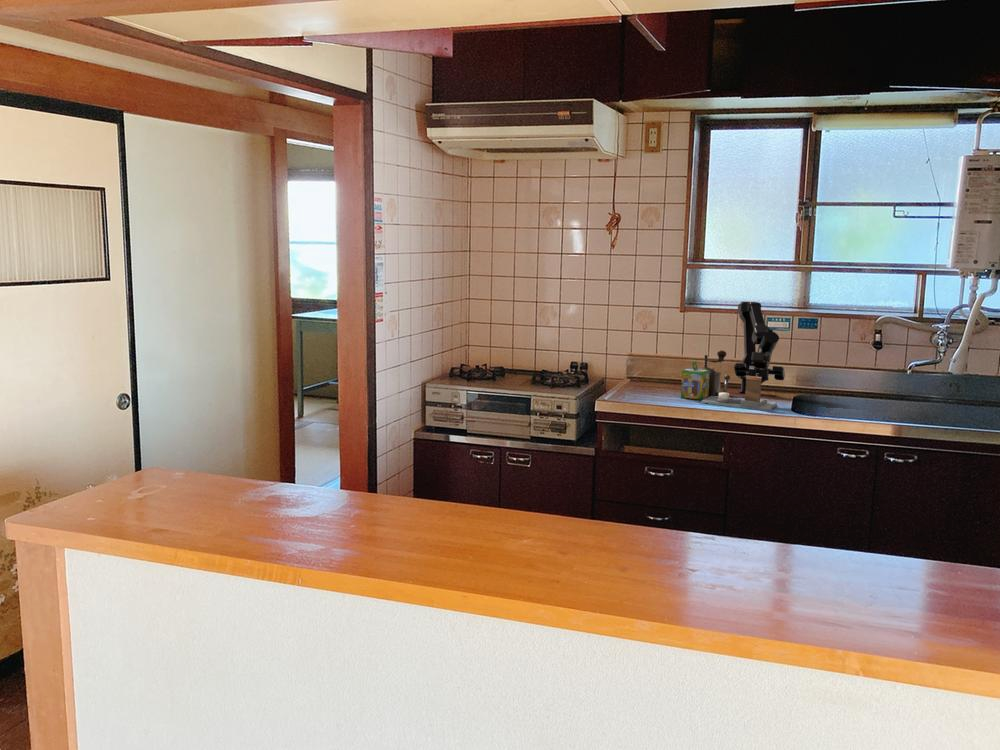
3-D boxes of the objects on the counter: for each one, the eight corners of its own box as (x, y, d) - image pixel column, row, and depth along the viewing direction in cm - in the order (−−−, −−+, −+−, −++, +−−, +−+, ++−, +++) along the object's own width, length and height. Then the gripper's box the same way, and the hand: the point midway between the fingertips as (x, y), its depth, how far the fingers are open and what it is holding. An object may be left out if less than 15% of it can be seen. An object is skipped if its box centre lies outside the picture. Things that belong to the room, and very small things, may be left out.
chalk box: (702, 400, 341) (704, 364, 339) (680, 398, 346) (681, 362, 344) (709, 397, 349) (711, 361, 347) (687, 395, 354) (689, 359, 352)
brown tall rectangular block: (746, 403, 331) (748, 375, 330) (760, 404, 329) (761, 377, 327) (744, 404, 328) (746, 376, 327) (758, 405, 326) (759, 378, 324)
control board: (711, 398, 347) (711, 387, 347) (776, 405, 334) (777, 394, 334) (700, 403, 335) (701, 392, 334) (768, 410, 322) (769, 399, 322)
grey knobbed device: (713, 397, 350) (716, 353, 347) (688, 394, 356) (690, 351, 353) (725, 392, 363) (728, 350, 360) (700, 389, 369) (702, 348, 366)
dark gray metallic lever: (722, 394, 341) (725, 375, 343) (727, 394, 340) (731, 376, 342) (721, 392, 339) (724, 373, 341) (726, 393, 338) (729, 374, 340)
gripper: (736, 342, 337) (727, 373, 329) (785, 346, 327) (777, 378, 320) (740, 360, 345) (731, 390, 337) (788, 364, 335) (780, 395, 328)
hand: (754, 388), depth 330 cm, fingers closed
